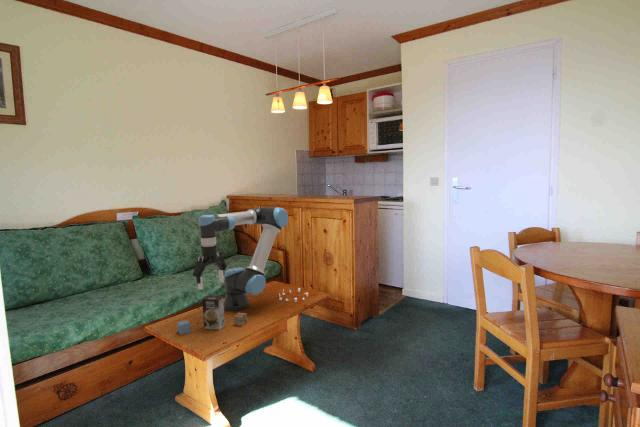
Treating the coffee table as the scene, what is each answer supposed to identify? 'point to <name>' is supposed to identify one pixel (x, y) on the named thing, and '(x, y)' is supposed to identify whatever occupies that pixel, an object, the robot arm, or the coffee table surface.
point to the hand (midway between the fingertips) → (211, 285)
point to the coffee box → (213, 312)
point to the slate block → (183, 327)
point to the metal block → (240, 319)
